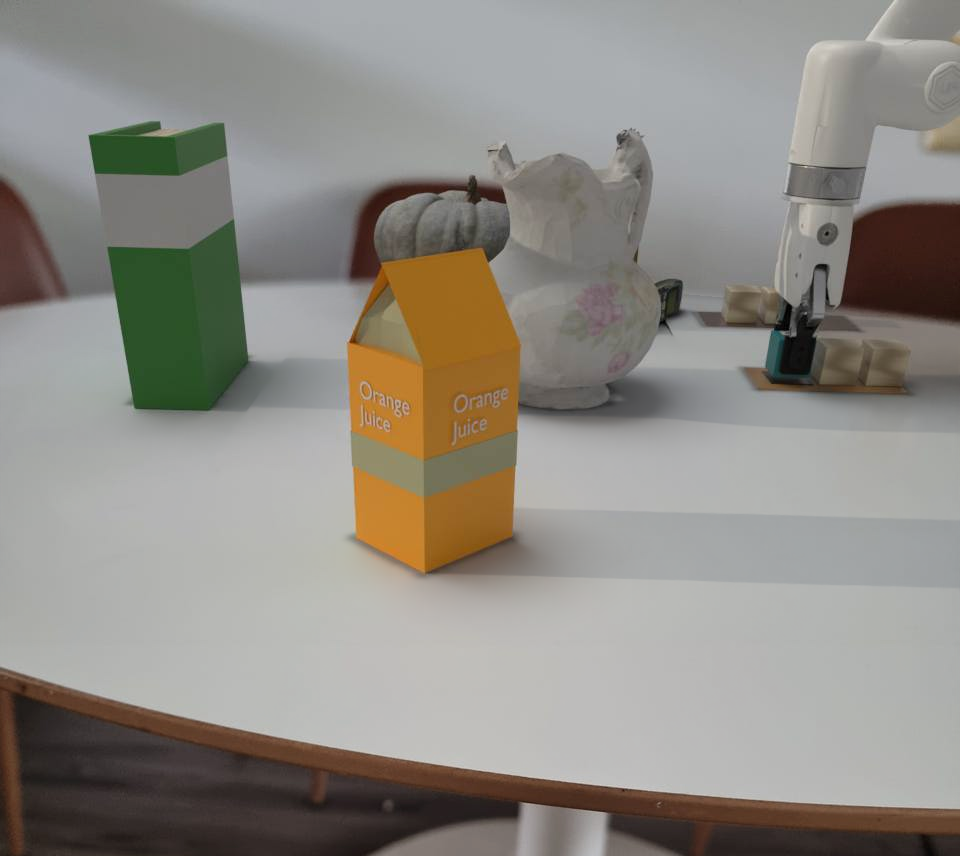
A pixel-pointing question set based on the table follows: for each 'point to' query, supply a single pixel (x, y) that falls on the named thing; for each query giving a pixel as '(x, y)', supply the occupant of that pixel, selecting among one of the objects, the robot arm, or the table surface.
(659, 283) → the mobile phone
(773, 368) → the teal block
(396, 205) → the gourd
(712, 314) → the left board
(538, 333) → the ceramic pitcher
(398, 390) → the orange juice
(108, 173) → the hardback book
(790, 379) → the right board
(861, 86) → the robot arm
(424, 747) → the table surface
